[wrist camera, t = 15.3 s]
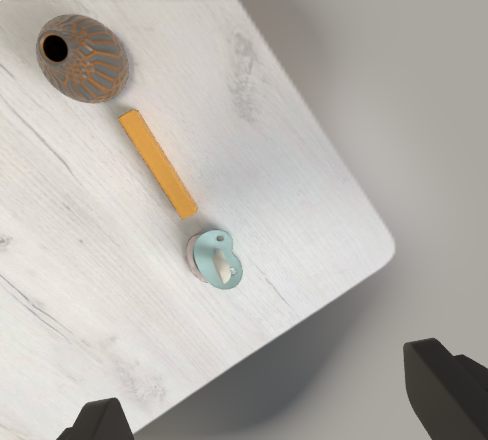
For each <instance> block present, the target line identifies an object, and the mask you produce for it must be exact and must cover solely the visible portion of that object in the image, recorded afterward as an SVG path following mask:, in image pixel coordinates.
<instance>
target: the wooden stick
mask: <svg viewBox="0 0 488 440" xmlns="http://www.w3.org/2000/svg"><path fill="white" fill-rule="evenodd" d="M118 120H119V121H120V123H121V124H122V126H123V128H124V129H125V131H126V132H127V134H128V135H129V137H130V139H131V140H132V142H133V143H134V145H135V146H136V148H137V149H138V151H139V153H140V154H141V156H142V157H143V159H144V160H145V162H146V164H147V165H148V167H149V168H150V170H151V171H152V173H153V174H154V176H155V178H156V179H157V181H158V182H159V184H160V185H161V187H162V189H163V190H164V192H165V193H166V195H167V196H168V198H169V199H170V201H171V203H172V204H173V206H174V207H175V209H176V210H177V212H178V214H179V215H180V217H181V218H182V219H185V218H187V217H188V216H190V215H192V214H194V213H196V211H197V209H198V207H197V205H196V204H195V202H194V201H193V199H192V197H191V196H190V194H189V192H188V191H187V189H186V188H185V186H184V184H183V183H182V181H181V180H180V178H179V176H178V175H177V173H176V171H175V170H174V168H173V167H172V165H171V163H170V162H169V160H168V158H167V157H166V155H165V154H164V152H163V150H162V149H161V147H160V146H159V144H158V142H157V141H156V139H155V137H154V136H153V134H152V133H151V131H150V129H149V128H148V126H147V124H146V123H145V121H144V120H143V118H142V116H141V115H140V113H139V111H138V110H131V111H129V112H128V113H126V114H124V115H123V116H121V117H119V118H118Z"/></svg>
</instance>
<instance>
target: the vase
mask: <svg viewBox="0 0 488 440" xmlns="http://www.w3.org/2000/svg"><path fill="white" fill-rule="evenodd" d="M36 54H37V60H38V63H39V66H40V68H41V70H42V72H43V74H44V75H45V77H46V78H47V79H48V81H49V82H50V83H51V84H52V85H53V86H54V87H55V88H56V89H57V90H59V91H60V92H61V93H63V94H64V95H66V96H68V97H70V98H72V99H74V100H77V101H80V102H85V103H101V102H105V101H108V100H110V99H112V98H114V97H115V96H117V95H118V94H119V93H120V92H121V90H122V89H123V88H124V86H125V84H126V82H127V78H128V71H129V67H128V60H127V56H126V53H125V51H124V48H123V46H122V44H121V43H120V41H119V40H118V39H117V37H116V36H115V35H114V34H113V33H112V32H111V31H110V30H109V29H108V28H106V27H105V26H104V25H102V24H101V23H99V22H98V21H96V20H94V19H91V18H89V17H86V16H82V15H71V14H70V15H62V16H58V17H56V18H54V19H52V20H50V21H49V22H48V23H46V24H45V25H44V27H43V28H42V30H41V31H40V33H39V36H38V39H37V44H36Z"/></svg>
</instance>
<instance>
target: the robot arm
mask: <svg viewBox="0 0 488 440" xmlns="http://www.w3.org/2000/svg"><path fill="white" fill-rule="evenodd" d="M403 351H404V367H405V382H406V391H407V394H408V398H409V401H410V403H411V405H412V408H413V410H414V412H415V413H416V415H417V416H418V418H419V420H420V421H421V423H422V424H423V426H424V428H425V429H426V431H427V432H428V434H429V435H430V437H431V439H432V440H488V369H487V368H486V367H484V366H482V365H480V364H479V363H477V362H475V361H473V360H472V359H470V358H468V357H466V356H465V355H463V354H462V355H457V356H453V355H452V354H451V353H449V351H448V350H447V349H446V348H445V347H444V346H443V345H442V344H441V343H440V342H439V341H438V340H437V339H435V338H429V339H424V340H419V341H414V342H409V343H405V344H404V347H403ZM56 440H134V437H133V434H132V432H131V429H130V427H129V424H128V422H127V419H126V417H125V414H124V412H123V409H122V407H121V404H120V402H119V400H118V399H117V398H109V399H104V400H98V401H93V402H88V403H86V404H85V405H84V406H83V408H82V410H81V412H80V413H79V415H78V417H77V419H76V421H75V423H74V425H73V427H70V428H66V429H65V430H64V431H63V433H62V434H61V435H60V436H59V437H58V438H57V439H56Z"/></svg>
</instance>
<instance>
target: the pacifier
mask: <svg viewBox="0 0 488 440" xmlns="http://www.w3.org/2000/svg"><path fill="white" fill-rule="evenodd" d="M218 236H223V237H224V239H223V240H222V241H218V240H217V237H218ZM232 249H233V241H232V238H231V236H230V235H229V234H228V233H227V232H225V231H223V230H210V231H207V232H205V233H203V234H202V235H201V234H200V235H195V236H193V237H192V238H191V239H190V240H189V242H188V244H187V248H186V256H187V261H188V264H189V266H190V268H191V270H192V272H193V273H194V274H195V275H196V277H198V278H199V279H200V280H202V281H203V282H205V283H210V284H211V285H212V286H214V287H216V288H219V289H231V288H234V287H235V286H236V285H238V283H239V282H240V280H241V278H242V274H243V270H242V266H241V263H240V261H239V260H238V258H237V257H236V256H235V255H233V254H232ZM194 257H195V259H194ZM195 261H196V262H195ZM230 268H234V269H236V273H235V274H234V275H232V274H231V269H230Z"/></svg>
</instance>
